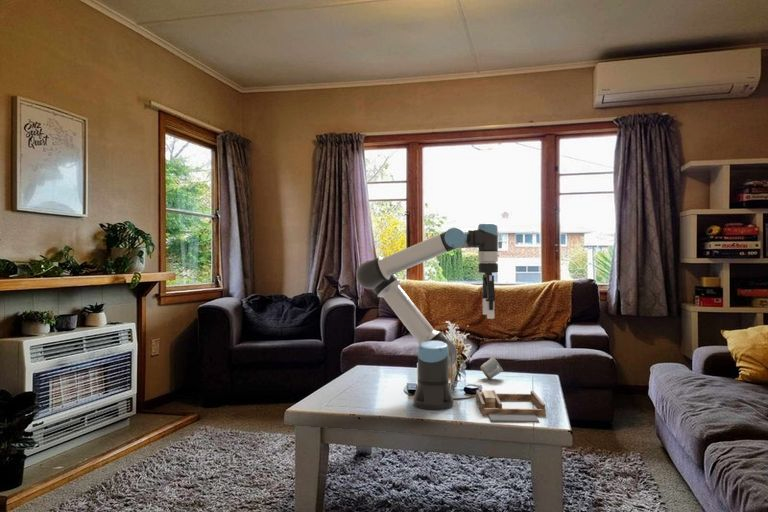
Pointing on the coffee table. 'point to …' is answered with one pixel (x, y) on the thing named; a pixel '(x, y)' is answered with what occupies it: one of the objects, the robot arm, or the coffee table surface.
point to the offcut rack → (533, 397)
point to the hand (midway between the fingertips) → (488, 316)
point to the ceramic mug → (491, 368)
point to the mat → (512, 417)
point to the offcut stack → (488, 399)
